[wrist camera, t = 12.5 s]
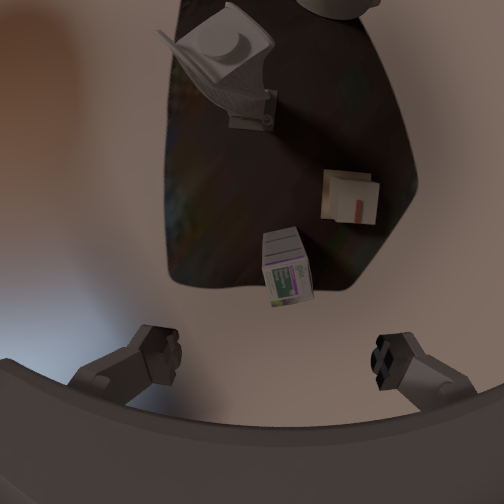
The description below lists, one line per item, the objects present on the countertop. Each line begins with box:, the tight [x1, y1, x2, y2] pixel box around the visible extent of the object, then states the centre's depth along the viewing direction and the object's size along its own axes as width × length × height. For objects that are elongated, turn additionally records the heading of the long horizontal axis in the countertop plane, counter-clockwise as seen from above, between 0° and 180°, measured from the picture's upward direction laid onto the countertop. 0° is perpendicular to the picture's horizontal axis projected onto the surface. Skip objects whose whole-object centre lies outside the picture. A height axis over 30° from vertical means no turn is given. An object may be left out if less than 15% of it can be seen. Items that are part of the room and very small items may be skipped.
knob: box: [328, 176, 379, 224], centre depth 38 cm, size 6×6×7 cm
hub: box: [321, 169, 371, 219], centre depth 40 cm, size 8×8×5 cm
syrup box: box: [262, 227, 314, 307], centre depth 39 cm, size 6×6×14 cm
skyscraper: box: [155, 2, 278, 132], centre depth 25 cm, size 8×8×28 cm
